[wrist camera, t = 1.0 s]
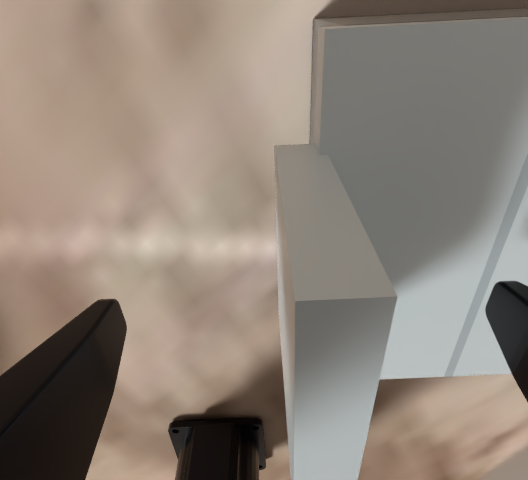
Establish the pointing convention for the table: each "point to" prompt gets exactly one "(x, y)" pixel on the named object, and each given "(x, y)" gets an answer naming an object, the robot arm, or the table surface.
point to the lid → (398, 222)
